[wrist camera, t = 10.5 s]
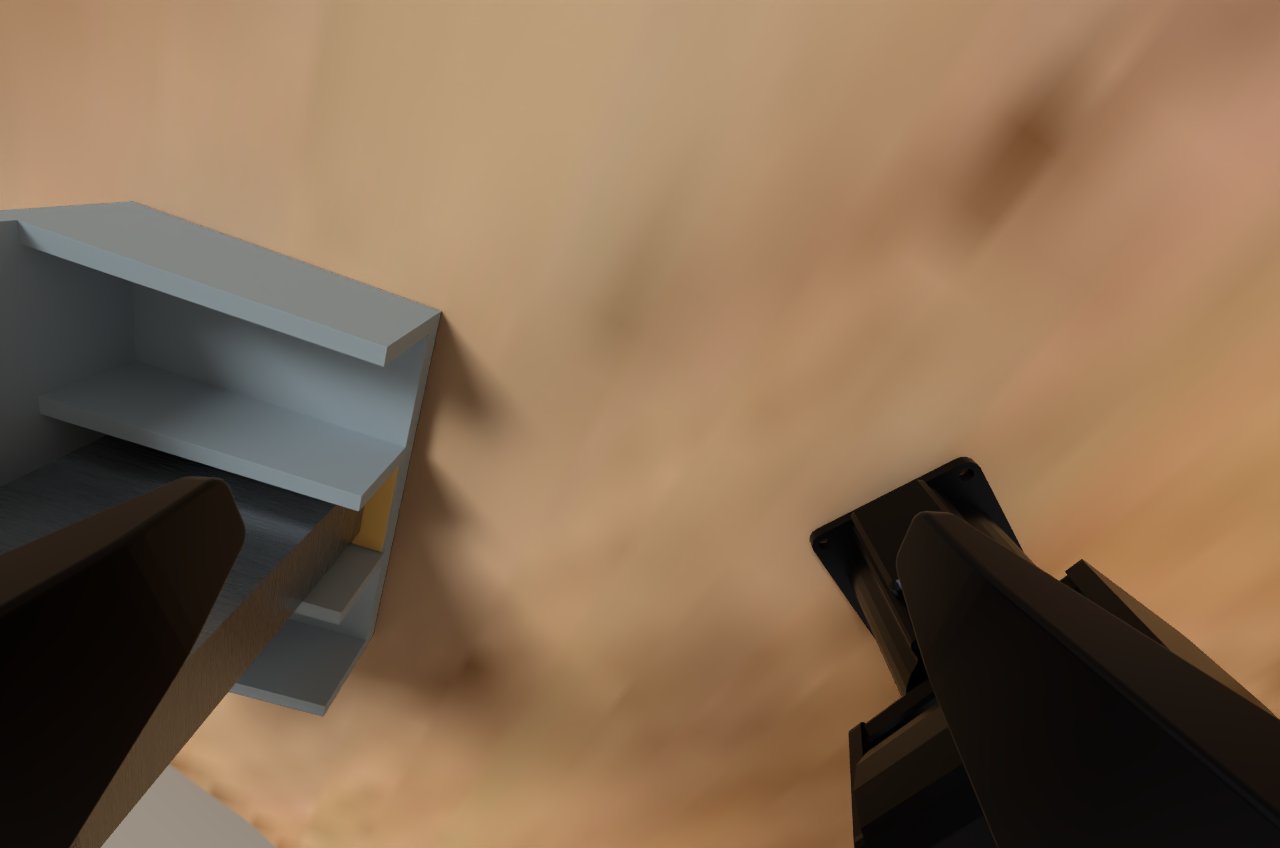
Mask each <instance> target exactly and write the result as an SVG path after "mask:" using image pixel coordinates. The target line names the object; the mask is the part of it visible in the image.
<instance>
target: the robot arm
mask: <svg viewBox="0 0 1280 848" xmlns="http://www.w3.org/2000/svg"><path fill="white" fill-rule="evenodd" d="M967 468H969V469H968V471H967V472H966V473H965V474H963V475H959V474H960V472H961V471H962V470H964V469H967ZM245 536H246V530H245V524H244V522H243V519H242V517H241V514H240V511H239V509H238V506H237V504H236V501H235V499H234V496H233V494H232V491H231V489H230V487H229V485H228V484H227V483H226V482H225V481H224V480H223V479H220V478H216V477H197V476H188V477H182V478H180V479H177V480H175V481H172V482H170V483H168V484H165V485H163V486H161V487H158V488H156V489H153V490H151V491H149V492H146V493H144V494H142V495H139V496H137V497H135V498H132V499H130V500H127V501H125V502H123V503H120V504H118V505H116V506H113V507H111V508H109V509H106V510H104V511H102V512H99V513H97V514H94V515H92V516H90V517H87V518H85V519H83V520H80V521H78V522H76V523H73V524H71V525H68V526H66V527H64V528H61V529H59V530H57V531H54V532H52V533H50V534H47V535H45V536H42V537H40V538H38V539H35V540H33V541H31V542H28V543H26V544H24V545H21V546H19V547H17V548H14V549H12V550H9V551H7V552H5V553H2V554H0V848H70V847H71V846H72V844H73V843H74V841H75V839H76V838H77V836H78V834H79V833H80V831H81V830H82V828H83V826H84V825H85V823H86V822H87V820H88V818H89V817H90V815H91V814H92V812H93V810H94V809H95V807H96V805H97V804H98V802H99V801H100V799H101V797H102V796H103V794H104V793H105V791H106V789H107V788H108V786H109V784H110V783H111V781H112V780H113V778H114V776H115V775H116V773H117V772H118V770H119V768H120V767H121V765H122V764H123V762H124V760H125V759H126V757H127V755H128V754H129V752H130V751H131V749H132V747H133V746H134V744H135V743H136V741H137V739H138V738H139V736H140V735H141V733H142V731H143V730H144V728H145V726H146V725H147V723H148V722H149V720H150V718H151V717H152V715H153V714H154V712H155V710H156V709H157V707H158V705H159V704H160V702H161V701H162V699H163V697H164V696H165V694H166V693H167V691H168V689H169V688H170V686H171V685H172V683H173V681H174V680H175V678H176V676H177V675H178V673H179V671H180V670H181V668H182V666H183V665H184V663H185V661H186V659H187V658H188V656H189V654H190V652H191V650H192V648H193V646H194V645H195V643H196V641H197V639H198V637H199V635H200V633H201V631H202V629H203V627H204V625H205V623H206V621H207V619H208V617H209V615H210V613H211V611H212V608H213V606H214V604H215V602H216V600H217V598H218V596H219V594H220V592H221V590H222V588H223V586H224V584H225V582H226V580H227V578H228V576H229V574H230V572H231V570H232V568H233V566H234V564H235V561H236V559H237V557H238V555H239V553H240V551H241V549H242V547H243V544H244V541H245ZM823 539H829V540H828V541H827V542H826V543H819V542H820V541H821V540H823ZM810 543H811V545H812V548H813V550H814V552H815V553H816V555H817V556H818V557H819V559H820V560H821V562H822V563H823V565H824V566H825V568H826V569H827V570H828V572H829V573H830V575H831V576H832V578H833V579H834V580H835V582H836V583H837V585H838V586H839V588H840V589H841V591H842V592H843V593H844V595H845V596H846V598H847V599H848V601H849V602H850V604H851V605H852V606H853V608H854V609H855V611H856V612H857V614H858V615H859V616H860V618H861V619H862V621H863V622H864V624H865V625H866V627H867V628H868V629H869V631H870V632H871V634H872V635H873V637H874V638H875V640H876V641H877V643H878V646H879V648H880V650H881V652H882V654H883V657H884V659H885V661H886V663H887V665H888V668H889V670H890V672H891V674H892V676H893V679H894V681H895V683H896V685H897V688H898V690H899V692H900V694H901V696H902V697H901V698H900V699H898V700H897V701H895V702H894V703H893V704H891V705H890V706H889V707H887V708H886V709H885V710H883V711H882V712H880V713H879V714H878V715H876V716H875V717H874V718H872V719H871V720H870V721H868V722H867V723H864V722H861V723H860V724H858V725H857V726H855V727H854V728H853V729H851V730H850V731H849V752H850V773H851V794H852V816H853V837H854V848H1280V719H1278V718H1277V717H1276V716H1275V715H1274V714H1273V713H1272V712H1271V711H1270V710H1269V709H1268V708H1267V707H1266V706H1265V705H1263V704H1262V703H1261V702H1260V701H1259V700H1258V699H1257V698H1255V697H1254V696H1253V695H1252V694H1251V693H1250V692H1249V691H1247V690H1246V689H1245V688H1244V687H1243V686H1242V685H1241V684H1239V683H1238V682H1237V681H1236V680H1235V679H1234V678H1232V677H1231V676H1230V675H1229V674H1228V673H1227V672H1226V671H1224V670H1223V669H1222V668H1221V667H1220V666H1219V665H1218V664H1216V663H1215V662H1214V661H1213V660H1212V659H1211V658H1209V657H1208V656H1207V655H1206V654H1205V653H1204V652H1203V651H1201V650H1200V649H1199V648H1198V647H1197V646H1196V645H1194V644H1193V643H1192V642H1191V641H1190V640H1189V639H1187V638H1186V637H1185V636H1184V635H1182V634H1181V633H1180V632H1179V631H1177V630H1176V629H1175V628H1173V627H1172V626H1171V625H1169V624H1168V623H1167V622H1165V621H1164V620H1163V619H1161V618H1160V617H1159V616H1157V615H1156V614H1155V613H1153V612H1152V611H1151V610H1149V609H1148V608H1147V607H1145V606H1144V605H1143V604H1141V603H1140V602H1139V601H1137V600H1136V599H1135V598H1133V597H1132V596H1131V595H1129V594H1128V593H1127V592H1125V591H1124V590H1123V589H1121V588H1120V587H1119V586H1117V585H1116V584H1115V583H1113V582H1112V581H1111V580H1109V579H1108V578H1107V577H1105V576H1104V575H1103V574H1102V573H1100V572H1099V571H1098V570H1096V569H1095V568H1094V567H1092V566H1091V565H1090V564H1088V563H1087V562H1086V561H1084V560H1083V559H1081V560H1080V561H1079V562H1077V563H1076V564H1074V565H1073V566H1072V567H1070V568H1069V569H1068V570H1066V571H1065V572H1066V574H1067V576H1065V577H1064V578H1063V579H1061V580H1060V581H1059V580H1057V579H1056V578H1054V577H1052V576H1051V575H1049V574H1048V573H1046V572H1044V571H1043V570H1041V569H1040V568H1038V567H1037V566H1036V565H1035V564H1034V563H1033V562H1032V561H1031V560H1030V559H1029V558H1028V557H1027V556H1026V555H1025V554H1024V552H1023V550H1022V548H1021V546H1020V544H1019V542H1018V540H1017V538H1016V536H1015V534H1014V532H1013V530H1012V529H1011V527H1010V525H1009V523H1008V521H1007V519H1006V517H1005V515H1004V513H1003V511H1002V509H1001V507H1000V505H999V503H998V501H997V499H996V497H995V495H994V493H993V491H992V489H991V487H990V485H989V483H988V481H987V480H986V478H985V476H984V474H983V472H982V470H981V468H980V467H979V466H978V464H977V463H975V462H974V461H973V460H972V459H971V458H968V457H960V458H957V459H955V460H953V461H951V462H949V463H947V464H945V465H943V466H941V467H939V468H937V469H935V470H933V471H931V472H929V473H927V474H925V475H923V476H921V477H919V478H917V479H915V480H913V481H911V482H909V483H907V484H905V485H903V486H901V487H899V488H897V489H895V490H893V491H891V492H889V493H887V494H885V495H883V496H881V497H879V498H877V499H875V500H873V501H871V502H869V503H867V504H865V505H863V506H861V507H859V508H857V509H855V510H853V511H851V512H849V513H847V514H845V515H843V516H842V517H840V518H838V519H836V520H834V521H832V522H830V523H828V524H826V525H824V526H822V527H820V528H818V529H816V530H815V531H813V532H812V534H811V535H810Z"/></svg>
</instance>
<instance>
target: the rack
mask: <svg viewBox="0 0 1280 848" xmlns="http://www.w3.org/2000/svg"><path fill="white" fill-rule="evenodd" d="M440 315H441V311H440V310H437V309H434V308H431V307H428V306H426V305H423V304H420V303H417V302H414V301H412V300H409V299H406V298H403V297H400V296H397V295H395V294H392V293H389V292H386V291H383V290H381V289H378V288H375V287H372V286H369V285H366V284H364V283H361V282H358V281H355V280H352V279H350V278H347V277H344V276H341V275H338V274H335V273H333V272H330V271H327V270H324V269H321V268H319V267H316V266H313V265H310V264H307V263H304V262H302V261H299V260H296V259H293V258H290V257H287V256H285V255H282V254H279V253H276V252H273V251H271V250H268V249H265V248H262V247H259V246H256V245H254V244H251V243H248V242H245V241H242V240H240V239H237V238H234V237H231V236H228V235H225V234H223V233H220V232H217V231H214V230H211V229H209V228H206V227H203V226H200V225H197V224H194V223H192V222H189V221H186V220H183V219H180V218H178V217H175V216H172V215H169V214H166V213H163V212H161V211H158V210H155V209H152V208H149V207H146V206H144V205H141V204H138V203H135V202H132V201H130V202H116V203H101V204H86V205H72V206H57V207H42V208H28V209H13V210H0V487H1V486H3V485H5V484H7V483H9V482H11V481H13V480H15V479H18V478H20V477H22V476H24V475H26V474H28V473H30V472H32V471H34V470H36V469H38V468H40V467H42V466H44V465H46V464H48V463H50V462H52V461H54V460H57V459H59V458H61V457H63V456H65V455H67V454H69V453H71V452H73V451H75V450H77V449H79V448H81V447H83V446H85V445H87V444H89V443H91V442H94V441H96V440H98V439H100V438H102V437H104V436H106V435H111V436H114V437H117V438H121V439H124V440H127V441H130V442H134V443H137V444H140V445H143V446H147V447H150V448H153V449H157V450H160V451H163V452H166V453H170V454H173V455H176V456H179V457H183V458H186V459H189V460H192V461H196V462H199V463H202V464H206V465H209V466H212V467H215V468H219V469H222V470H225V471H228V472H232V473H235V474H238V475H241V476H245V477H248V478H251V479H254V480H258V481H261V482H264V483H268V484H271V485H274V486H277V487H281V488H284V489H287V490H290V491H294V492H297V493H300V494H303V495H307V496H310V497H313V498H317V499H320V500H323V501H326V502H330V503H333V504H336V505H339V506H343V507H346V508H349V509H352V510H356V511H360V510H361V508H362V507H363V506H364V511H363V517H362V522H361V528H360V532H359V533H358V535H357V536H356V537H355V538H354V539H353V541H352V542H351V543H350V544H349V546H348V547H347V548H346V549H345V550H344V552H343V553H342V554H341V555H340V557H339V558H338V559H337V560H336V561H335V563H334V564H333V565H332V566H331V567H330V569H329V570H328V571H327V572H326V574H325V575H324V576H323V577H322V578H321V580H320V581H319V582H318V583H317V585H316V586H315V587H314V588H313V589H312V591H311V592H310V593H309V594H308V595H307V597H306V598H305V599H304V600H303V602H302V603H301V604H300V605H299V606H298V608H297V609H296V610H295V611H294V613H293V614H292V615H291V616H290V617H289V619H288V620H287V621H286V622H285V623H284V625H283V626H282V627H281V628H280V630H279V631H278V632H277V633H276V634H275V636H274V637H273V638H272V639H271V641H270V642H269V643H268V644H267V645H266V647H265V648H264V649H263V650H262V652H261V653H260V654H259V655H258V656H257V658H256V659H255V660H254V661H253V662H252V664H251V665H250V666H249V667H248V669H247V670H246V671H245V672H244V673H243V675H242V676H241V677H240V678H239V680H238V681H237V682H236V683H235V684H234V686H233V687H232V688H231V689H230V690H229V692H232V693H235V694H239V695H243V696H247V697H251V698H255V699H258V700H262V701H266V702H270V703H274V704H278V705H281V706H285V707H289V708H293V709H297V710H301V711H304V712H308V713H312V714H316V715H320V716H324V715H325V713H326V711H327V710H328V708H329V707H330V705H331V703H332V702H333V700H334V698H335V697H336V695H337V694H338V692H339V690H340V689H341V687H342V685H343V684H344V682H345V680H346V679H347V677H348V676H349V674H350V672H351V671H352V669H353V667H354V666H355V664H356V662H357V661H358V659H359V658H360V656H361V654H362V653H363V651H364V649H365V648H366V646H367V644H368V643H369V641H370V640H371V638H372V636H373V633H374V628H375V623H376V619H377V614H378V609H379V604H380V600H381V595H382V590H383V585H384V581H385V576H386V571H387V566H388V562H389V557H390V552H391V547H392V543H393V538H394V533H395V528H396V524H397V519H398V514H399V509H400V505H401V500H402V495H403V490H404V486H405V481H406V476H407V471H408V467H409V462H410V457H411V452H412V448H413V443H414V438H415V433H416V429H417V424H418V419H419V414H420V410H421V405H422V400H423V395H424V391H425V386H426V381H427V376H428V372H429V367H430V362H431V357H432V353H433V348H434V343H435V338H436V334H437V329H438V324H439V320H440Z"/></svg>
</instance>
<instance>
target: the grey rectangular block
mask: <svg viewBox="0 0 1280 848" xmlns="http://www.w3.org/2000/svg"><path fill="white" fill-rule="evenodd" d="M188 476H197V477H216V478H220V479H223V480H224V481H225V482H226V483H227V484H228V485H229V487H230V489H231V491H232V494H233V496H234V499H235V501H236V504H237V506H238V509H239V511H240V514H241V517H242V519H243V522H244V524H245V530H246V536H245V541H244V544H243V547H242V549H241V551H240V553H239V555H238V557H237V559H236V561H235V564H234V566H233V568H232V570H231V572H230V574H229V576H228V578H227V580H226V582H225V584H224V586H223V588H222V590H221V592H220V594H219V596H218V598H217V600H216V602H215V604H214V606H213V608H212V611H211V613H210V615H209V617H208V619H207V621H206V623H205V625H204V627H203V629H202V631H201V633H200V635H199V637H198V639H197V641H196V643H195V645H194V646H193V648H192V650H191V652H190V654H189V656H188V658H187V659H186V661H185V663H184V665H183V666H182V668H181V670H180V671H179V673H178V675H177V676H176V678H175V680H174V681H173V683H172V685H171V686H170V688H169V689H168V691H167V693H166V694H165V696H164V697H163V699H162V701H161V702H160V704H159V705H158V707H157V709H156V710H155V712H154V714H153V715H152V717H151V718H150V720H149V722H148V723H147V725H146V726H145V728H144V730H143V731H142V733H141V735H140V736H139V738H138V739H137V741H136V743H135V744H134V746H133V747H132V749H131V751H130V752H129V754H128V755H127V757H126V759H125V760H124V762H123V764H122V765H121V767H120V768H119V770H118V772H117V773H116V775H115V776H114V778H113V780H112V781H111V783H110V784H109V786H108V788H107V789H106V791H105V793H104V794H103V796H102V797H101V799H100V801H99V802H98V804H97V805H96V807H95V809H94V810H93V812H92V814H91V815H90V817H89V818H88V820H87V822H86V823H85V825H84V826H83V828H82V830H81V831H80V833H79V834H78V836H77V838H76V839H75V841H74V843H73V844H72V846H71V847H70V848H100V847H101V846H102V845H103V843H104V842H105V841H106V840H107V839H108V838H109V837H110V835H111V834H112V833H113V832H114V830H115V829H116V828H117V827H118V826H119V824H120V823H121V822H122V821H123V819H124V818H125V817H126V816H127V815H128V813H129V812H130V811H131V810H132V809H133V807H134V806H135V805H136V804H137V802H138V801H139V800H140V799H141V797H142V796H143V795H144V794H145V793H146V792H147V790H148V789H149V788H150V787H151V785H152V784H153V783H154V782H155V780H156V779H157V778H158V777H159V775H160V774H161V773H162V772H163V771H164V770H165V768H166V767H167V766H168V765H169V764H170V762H171V761H172V760H173V759H174V757H175V756H176V755H177V754H178V753H179V751H180V750H181V749H182V748H183V746H184V745H185V744H186V743H187V742H188V740H189V739H190V738H191V737H192V736H193V734H194V733H195V732H196V731H197V729H198V728H199V727H200V726H201V725H202V723H203V722H204V721H205V720H206V718H207V717H208V716H209V715H210V714H211V712H212V711H213V710H214V709H215V708H216V706H217V705H218V704H219V703H220V701H221V700H222V699H223V698H224V697H225V695H226V694H227V693H228V692H229V690H230V689H231V688H232V687H233V686H234V684H235V683H236V682H237V681H238V680H239V678H240V677H241V676H242V675H243V673H244V672H245V671H246V670H247V669H248V667H249V666H250V665H251V664H252V662H253V661H254V660H255V659H256V658H257V656H258V655H259V654H260V653H261V652H262V650H263V649H264V648H265V647H266V645H267V644H268V643H269V642H270V641H271V639H272V638H273V637H274V636H275V634H276V633H277V632H278V631H279V630H280V628H281V627H282V626H283V625H284V623H285V622H286V621H287V620H288V619H289V617H290V616H291V615H292V614H293V613H294V611H295V610H296V609H297V608H298V606H299V605H300V604H301V603H302V602H303V600H304V599H305V598H306V597H307V595H308V594H309V593H310V592H311V591H312V589H313V588H314V587H315V586H316V585H317V583H318V582H319V581H320V580H321V578H322V577H323V576H324V575H325V574H326V572H327V571H328V570H329V569H330V567H331V566H332V565H333V564H334V563H335V561H336V560H337V559H338V558H339V557H340V555H341V554H342V553H343V552H344V550H345V549H346V548H347V547H348V546H349V544H350V543H351V542H352V541H353V539H354V538H355V537H356V536H357V535H358V533H359V532H360V528H361V522H362V517H363V511H364V506H363V507H362V508H361V510H360V511H356V510H352V509H349V508H346V507H343V506H339V505H336V504H333V503H330V502H326V501H323V500H320V499H317V498H313V497H310V496H307V495H303V494H300V493H297V492H294V491H290V490H287V489H284V488H281V487H277V486H274V485H271V484H268V483H264V482H261V481H258V480H254V479H251V478H248V477H245V476H241V475H238V474H235V473H232V472H228V471H225V470H222V469H219V468H215V467H212V466H209V465H206V464H202V463H199V462H196V461H192V460H189V459H186V458H183V457H179V456H176V455H173V454H170V453H166V452H163V451H160V450H157V449H153V448H150V447H147V446H143V445H140V444H137V443H134V442H130V441H127V440H124V439H121V438H117V437H114V436H111V435H106V436H104V437H102V438H100V439H98V440H96V441H94V442H91V443H89V444H87V445H85V446H83V447H81V448H79V449H77V450H75V451H73V452H71V453H69V454H67V455H65V456H63V457H61V458H59V459H57V460H54V461H52V462H50V463H48V464H46V465H44V466H42V467H40V468H38V469H36V470H34V471H32V472H30V473H28V474H26V475H24V476H22V477H20V478H18V479H15V480H13V481H11V482H9V483H7V484H5V485H3V486H1V487H0V554H2V553H5V552H7V551H9V550H12V549H14V548H17V547H19V546H21V545H24V544H26V543H28V542H31V541H33V540H35V539H38V538H40V537H42V536H45V535H47V534H50V533H52V532H54V531H57V530H59V529H61V528H64V527H66V526H68V525H71V524H73V523H76V522H78V521H80V520H83V519H85V518H87V517H90V516H92V515H94V514H97V513H99V512H102V511H104V510H106V509H109V508H111V507H113V506H116V505H118V504H120V503H123V502H125V501H127V500H130V499H132V498H135V497H137V496H139V495H142V494H144V493H146V492H149V491H151V490H153V489H156V488H158V487H161V486H163V485H165V484H168V483H170V482H172V481H175V480H177V479H180V478H182V477H188Z"/></svg>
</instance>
